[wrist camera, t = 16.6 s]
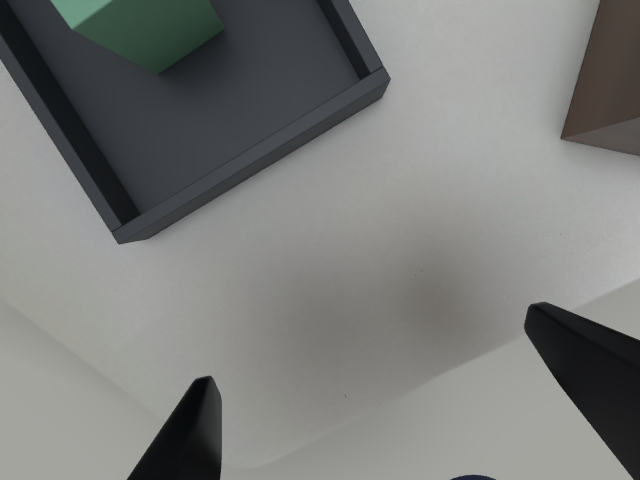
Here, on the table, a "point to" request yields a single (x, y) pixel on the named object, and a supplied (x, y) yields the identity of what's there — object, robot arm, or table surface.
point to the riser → (609, 82)
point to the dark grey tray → (189, 102)
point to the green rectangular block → (144, 27)
